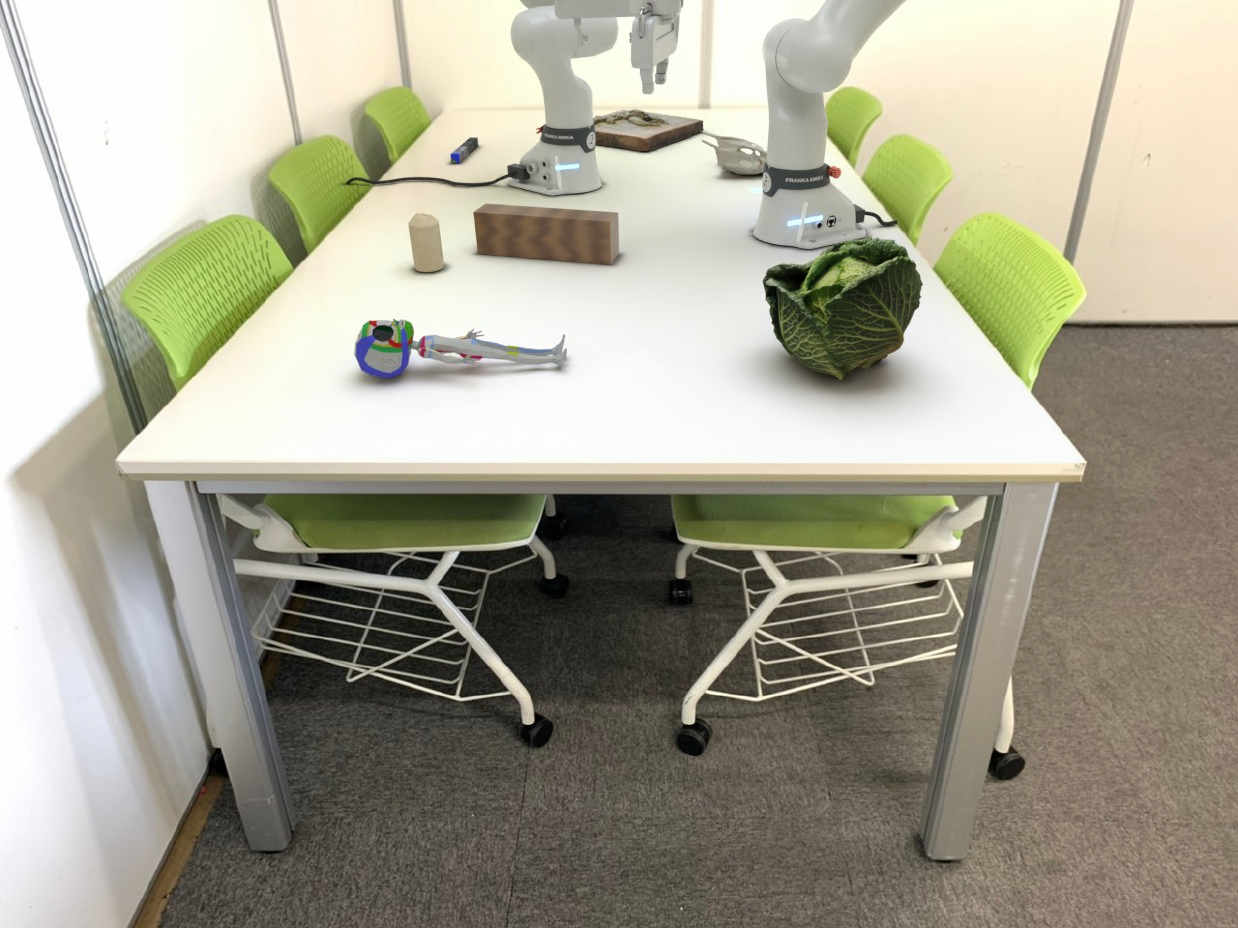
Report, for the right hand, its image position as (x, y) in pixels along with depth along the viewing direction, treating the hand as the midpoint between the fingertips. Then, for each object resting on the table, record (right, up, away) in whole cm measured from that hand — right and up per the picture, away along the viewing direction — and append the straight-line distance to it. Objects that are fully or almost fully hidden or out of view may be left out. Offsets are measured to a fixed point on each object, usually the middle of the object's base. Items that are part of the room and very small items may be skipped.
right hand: (654, 88), depth 158 cm
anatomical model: (+27, +6, +65) cm, 70 cm away
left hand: (-8, +14, +13) cm, 21 cm away
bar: (-20, -26, +16) cm, 36 cm away
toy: (-29, -52, -27) cm, 66 cm away
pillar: (-48, +17, +85) cm, 99 cm away
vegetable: (+26, -52, -27) cm, 64 cm away
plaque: (-2, +28, +101) cm, 105 cm away
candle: (-42, -30, +10) cm, 52 cm away
